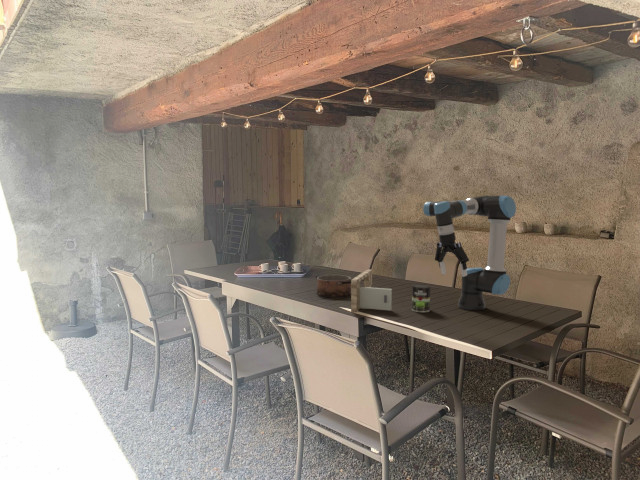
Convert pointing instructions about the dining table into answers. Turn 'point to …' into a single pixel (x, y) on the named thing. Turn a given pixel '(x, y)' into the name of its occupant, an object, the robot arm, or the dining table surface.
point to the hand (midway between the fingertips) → (454, 275)
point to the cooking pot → (333, 285)
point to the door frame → (356, 288)
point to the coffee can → (421, 298)
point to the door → (375, 298)
